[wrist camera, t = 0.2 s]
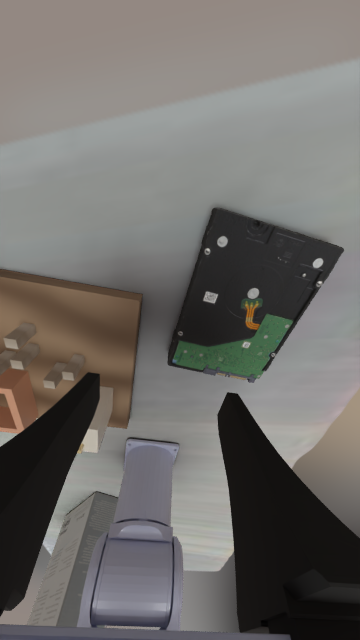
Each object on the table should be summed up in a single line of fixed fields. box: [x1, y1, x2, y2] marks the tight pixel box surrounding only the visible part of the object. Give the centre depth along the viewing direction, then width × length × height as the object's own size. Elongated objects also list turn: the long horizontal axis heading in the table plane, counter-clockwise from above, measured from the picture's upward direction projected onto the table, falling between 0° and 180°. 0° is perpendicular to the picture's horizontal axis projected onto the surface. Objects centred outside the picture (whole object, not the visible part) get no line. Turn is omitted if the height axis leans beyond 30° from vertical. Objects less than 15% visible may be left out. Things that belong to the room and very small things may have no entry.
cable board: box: [0, 269, 143, 429], centre depth 21 cm, size 19×20×4 cm
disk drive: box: [168, 208, 344, 383], centre depth 19 cm, size 10×3×15 cm
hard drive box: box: [27, 492, 118, 628], centre depth 35 cm, size 16×8×20 cm, turn 143°
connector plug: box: [77, 386, 113, 453], centre depth 22 cm, size 4×4×6 cm
